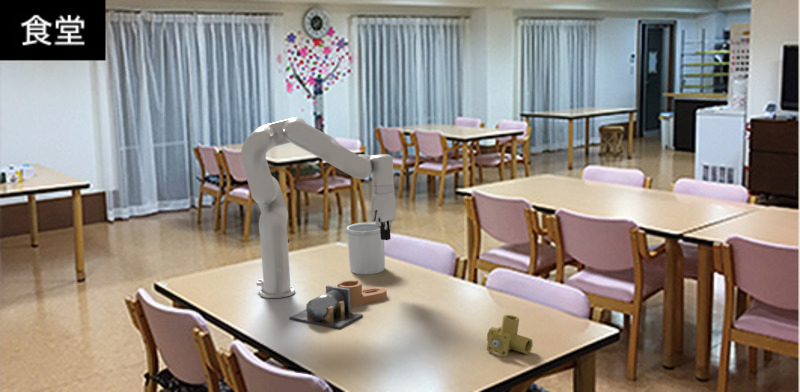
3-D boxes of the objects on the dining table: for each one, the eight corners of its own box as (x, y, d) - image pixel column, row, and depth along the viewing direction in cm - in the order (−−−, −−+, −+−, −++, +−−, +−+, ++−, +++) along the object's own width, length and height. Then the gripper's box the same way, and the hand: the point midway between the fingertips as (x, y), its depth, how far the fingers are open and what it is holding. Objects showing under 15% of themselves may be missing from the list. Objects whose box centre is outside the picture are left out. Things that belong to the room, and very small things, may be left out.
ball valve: (495, 344, 235) (475, 350, 227) (499, 310, 233) (480, 315, 226) (532, 356, 227) (513, 363, 219) (536, 321, 225) (518, 326, 218)
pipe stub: (289, 319, 259) (288, 294, 258) (316, 306, 271) (314, 283, 269) (339, 329, 249) (338, 303, 247) (364, 315, 260) (363, 291, 259)
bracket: (345, 308, 269) (344, 288, 268) (334, 302, 276) (333, 282, 275) (391, 298, 278) (390, 279, 277) (379, 292, 285) (378, 274, 284)
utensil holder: (371, 277, 304) (370, 232, 301) (340, 272, 312) (338, 228, 309) (393, 267, 316) (391, 224, 313) (362, 263, 324) (361, 221, 321)
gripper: (385, 185, 291) (388, 234, 294) (362, 192, 279) (365, 243, 282) (403, 186, 287) (405, 235, 290) (380, 193, 275) (383, 245, 278)
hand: (385, 239), depth 286 cm, fingers closed
